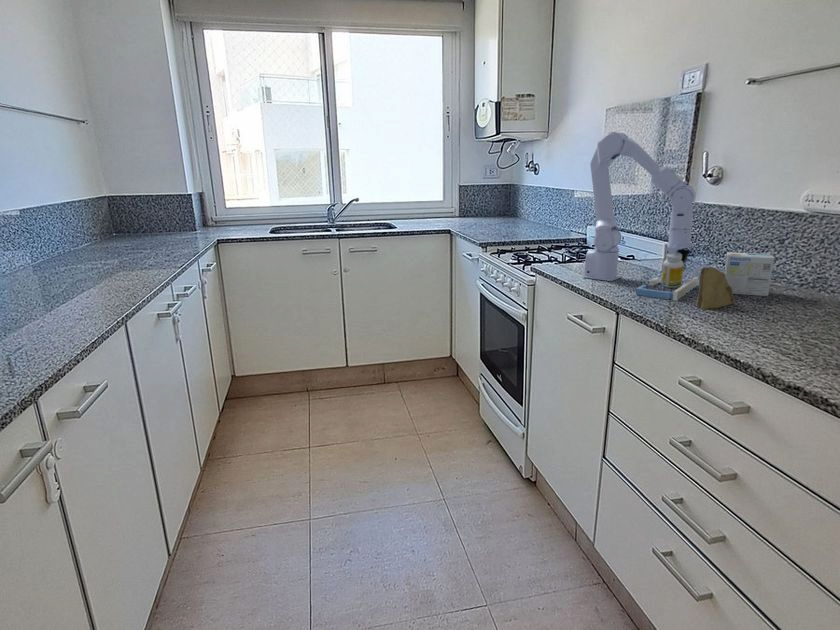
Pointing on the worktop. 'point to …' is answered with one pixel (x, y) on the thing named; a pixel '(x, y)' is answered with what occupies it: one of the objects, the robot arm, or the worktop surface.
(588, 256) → the robot arm
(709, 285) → the rock
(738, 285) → the light bulb box
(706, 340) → the worktop surface
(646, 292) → the channel
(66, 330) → the worktop surface
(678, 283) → the supplement bottle
